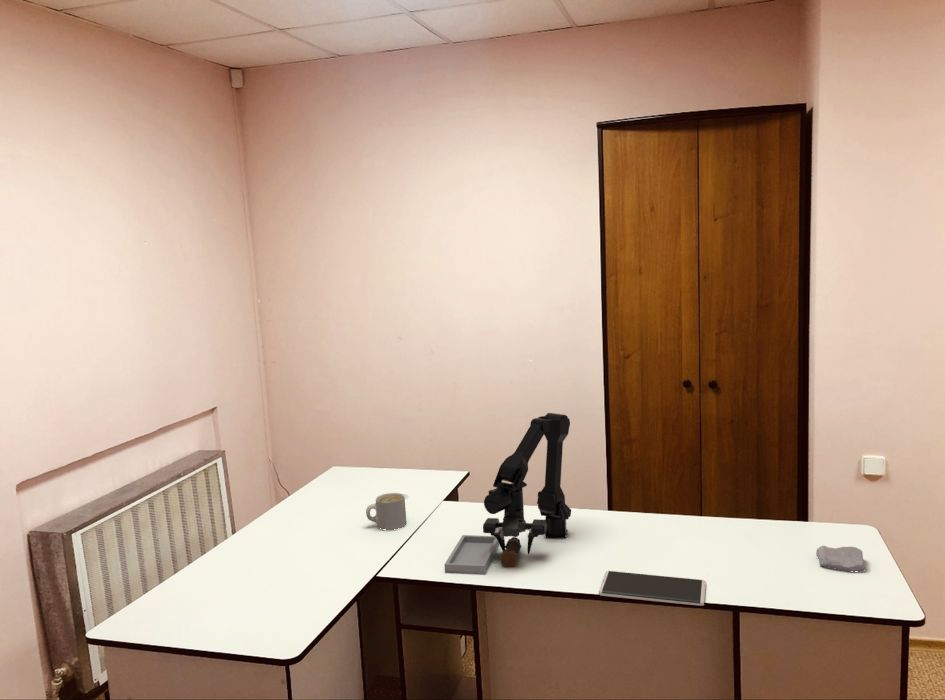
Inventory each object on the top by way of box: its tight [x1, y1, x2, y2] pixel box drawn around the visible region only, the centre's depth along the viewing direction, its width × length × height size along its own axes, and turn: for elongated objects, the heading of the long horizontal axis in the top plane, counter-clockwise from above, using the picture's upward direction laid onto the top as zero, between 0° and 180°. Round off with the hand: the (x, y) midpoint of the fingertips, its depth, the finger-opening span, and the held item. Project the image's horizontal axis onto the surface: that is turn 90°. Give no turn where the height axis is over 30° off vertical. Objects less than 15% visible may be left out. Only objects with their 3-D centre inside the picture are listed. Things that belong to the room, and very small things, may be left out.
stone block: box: [815, 545, 866, 573], centre depth 207 cm, size 12×5×10 cm
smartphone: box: [598, 570, 707, 607], centre depth 200 cm, size 13×27×2 cm, turn 71°
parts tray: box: [444, 534, 500, 575], centre depth 226 cm, size 12×22×2 cm, turn 167°
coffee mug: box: [365, 492, 407, 531], centre depth 256 cm, size 13×10×10 cm
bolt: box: [498, 536, 522, 569], centre depth 225 cm, size 6×5×15 cm
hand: (516, 553), depth 225 cm, fingers open, 7 cm apart
